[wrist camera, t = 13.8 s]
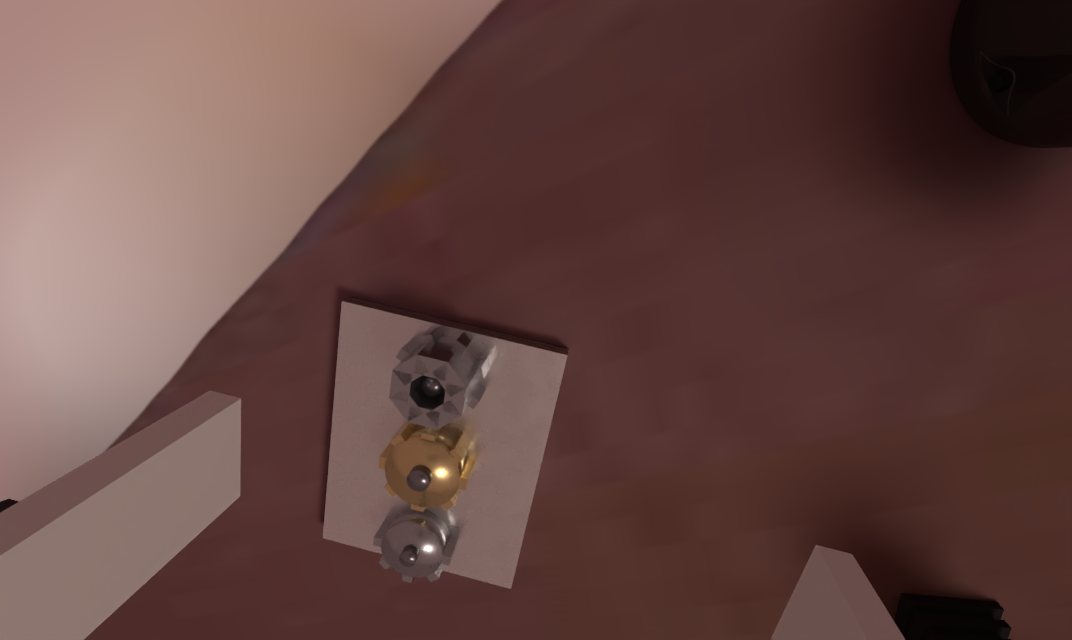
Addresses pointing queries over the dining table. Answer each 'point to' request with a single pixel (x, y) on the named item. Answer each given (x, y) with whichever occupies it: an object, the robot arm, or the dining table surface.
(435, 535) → the carrier
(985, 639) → the chess piece
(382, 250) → the dining table surface
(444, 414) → the gear
